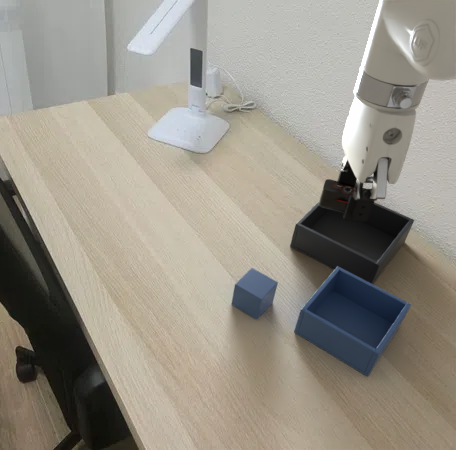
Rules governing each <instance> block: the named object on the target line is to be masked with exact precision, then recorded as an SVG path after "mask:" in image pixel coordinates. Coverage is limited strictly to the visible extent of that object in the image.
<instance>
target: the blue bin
mask: <svg viewBox="0 0 456 450" xmlns="http://www.w3.org/2000/svg"><path fill="white" fill-rule="evenodd" d="M411 307H412V303H410V302H407V301H406V300H404V299H402V298H400V297H398V296H397V295H394V294H392V293H390V292H389V291H387V290H385V289H382V288H381V287H379V286H377V285H376V284H371V283H369V282H367V281H365V280H363V279H362V278H360V277H358V276H356V275H354V274H352V273H350V272H348V271H346V270H344V269H342V268H340V267H338V266H337V268H336V269H335V270H334V269H333V271H332V272H331V273H330V275H328V277H327V278H326V279H325V280H324V281H323V282H322V284H321V285H320V286H319V287H318V288H317V289H316V291H315V292H314V293H313V294H312V296H311V297H310V298H309V299H308V300H307V301H306V303H305V304H304V305H303V306H302V308H301V309H300V311H299V314H298V318H297V321H296V324H295V326H294V330H293V333H295V334H296V335H298V336H299V337H301V338H303V339H305V340H306V341H308V342H309V343H311V344H313V345H315V346H316V347H317V348H319V349H321V350H323V351H324V352H326V353H327V354H330V355H331V356H332V357H334V358H336V359H337V360H339V361H341V362H343V364H346V365H348V366H349V367H351V368H352V369H354V370H356V371H358V372H359V373H361V374H362V375H364V376H365V377H369V376H370V374H371V373H372V371H373V370H374V368H375V366H376V365H377V363H378V362H379V361H380V359H381V357H382V355H383V354H384V353H385V351H386V350H387V348H388V347H389V345H390V343H391V342H392V340H393V339H394V337H395V336H396V334H397V333H398V331H399V329H400V328H401V326H402V324H403V323H404V320H405V318H406V316H407V314H408V312H409V310H410V309H411Z"/></svg>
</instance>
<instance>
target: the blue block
mask: <svg viewBox="0 0 456 450" xmlns="http://www.w3.org/2000/svg"><path fill="white" fill-rule="evenodd" d="M278 284H279V282H278V281H277V280H275V279H273V278H271V277H269V276H268V275H266V274H264V273H262V272H261V271H259V270H257V269H255V268H254V267H251V268H250V269H248V271H247V272H245V274H243V276H242V277H240V278H239V280H237V281H236V283H234V288H233V293H232V299H231V305H232V306H233V307H235V308H236V309H238V310H239V311H241V312H243V313H245V314H247V315H248V316H249V317H252V318H253V319H254V320H256V321H257V320H259V318H261V316H262V315H263V314H264V313H265V312H266V311H267V310H268V308H270V306H271V305H272V304H273V303H274V300H275V295H276V291H277V288H278Z"/></svg>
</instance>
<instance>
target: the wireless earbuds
mask: <svg viewBox="0 0 456 450" xmlns="http://www.w3.org/2000/svg"><path fill="white" fill-rule="evenodd" d="M364 189H367V188H366V187H363V188H362V190H364ZM354 190H355V186H354V185H350V184H346V183H342V182H338V181H337V180H334V179H329V178H327V179H325V181H324V184H323V187H322V190H321V193H320V197H319V200H318V202H319V205H320V206H321V207H323V208H326V209H330V210H334V211H337V212H341V213H344V212H345V209H346V206H347V203H348V200H349V197H350V195H354Z"/></svg>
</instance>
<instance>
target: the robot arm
mask: <svg viewBox="0 0 456 450" xmlns="http://www.w3.org/2000/svg"><path fill="white" fill-rule="evenodd" d="M356 79H357V80H356V83H355V86H354V89H353V95H354V99H353V102H352V104H351V106H350V109H349V112H348V116H347V119H346V122H345V125H344V128H343V133H342V137H341V147H342V150H343V153H344V156H343V159H342V161H341V163H340V171H339V173H338V177H337V180H336V181H338V182H342V183H346V184H350V185H354V186H355V190H354V195H350V197H349V200H348V203H347V206H346V209H345V212H344V216H343V218H344V220H345V221H367V220H368V218H369V215H370V212H371V210H372V207H373V204H374V202H376V201H378V200H385V199H386V197H387V187H388V184H390V185H395V184H396V183H398V180H399V178H400V175H401V173H402V170H403V166H404V163H405V161H406V159H407V158H406V157H407V154H408V151H409V148H410V145H411V141H412V137H413V133H414V128H415V123H416V117H417V111H416V110H417V108H419V107H420V105H421V103H422V102H421V101H422V99H423V96H424V94H425V91H426V88H427V86H428V83H429V80H432V81H442V82H443V81H453V80H456V0H379V2H378V6H377V9H376V12H375V15H374V20H373V23H372V27H371V29H370V34H369V36H368V41H367V44H366V47H365V51H364V54H363V58H362V61H361V66H360V67H359V73H358V76H357V78H356ZM364 184H372V186H371V188H366V189H364V190H362V188H364Z"/></svg>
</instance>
